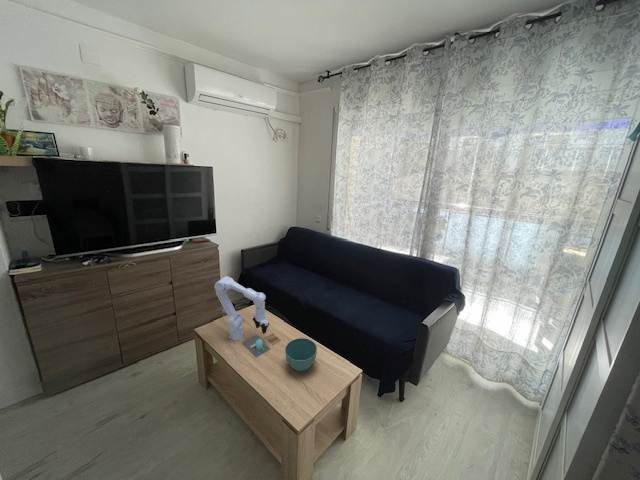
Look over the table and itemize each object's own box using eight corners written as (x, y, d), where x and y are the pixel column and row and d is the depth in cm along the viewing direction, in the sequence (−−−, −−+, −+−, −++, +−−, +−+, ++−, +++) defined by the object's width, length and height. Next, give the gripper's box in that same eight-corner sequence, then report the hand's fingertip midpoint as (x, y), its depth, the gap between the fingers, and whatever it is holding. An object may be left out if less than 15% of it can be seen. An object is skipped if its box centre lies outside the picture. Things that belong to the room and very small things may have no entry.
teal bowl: (310, 382, 133) (310, 364, 129) (279, 373, 138) (279, 355, 134) (320, 358, 150) (320, 341, 146) (292, 351, 155) (292, 335, 151)
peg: (255, 351, 154) (254, 340, 152) (260, 348, 157) (260, 337, 154) (258, 354, 151) (258, 344, 149) (264, 351, 154) (263, 341, 152)
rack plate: (242, 345, 159) (242, 341, 158) (256, 338, 166) (256, 334, 165) (256, 359, 147) (256, 355, 147) (270, 351, 154) (270, 347, 153)
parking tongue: (264, 339, 164) (264, 338, 164) (272, 335, 169) (272, 333, 169) (272, 347, 158) (272, 345, 157) (281, 342, 162) (281, 340, 162)
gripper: (272, 314, 153) (272, 332, 157) (259, 305, 163) (260, 322, 167) (262, 318, 149) (263, 337, 152) (250, 308, 158) (251, 327, 162)
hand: (261, 330), depth 159 cm, fingers open, 7 cm apart
